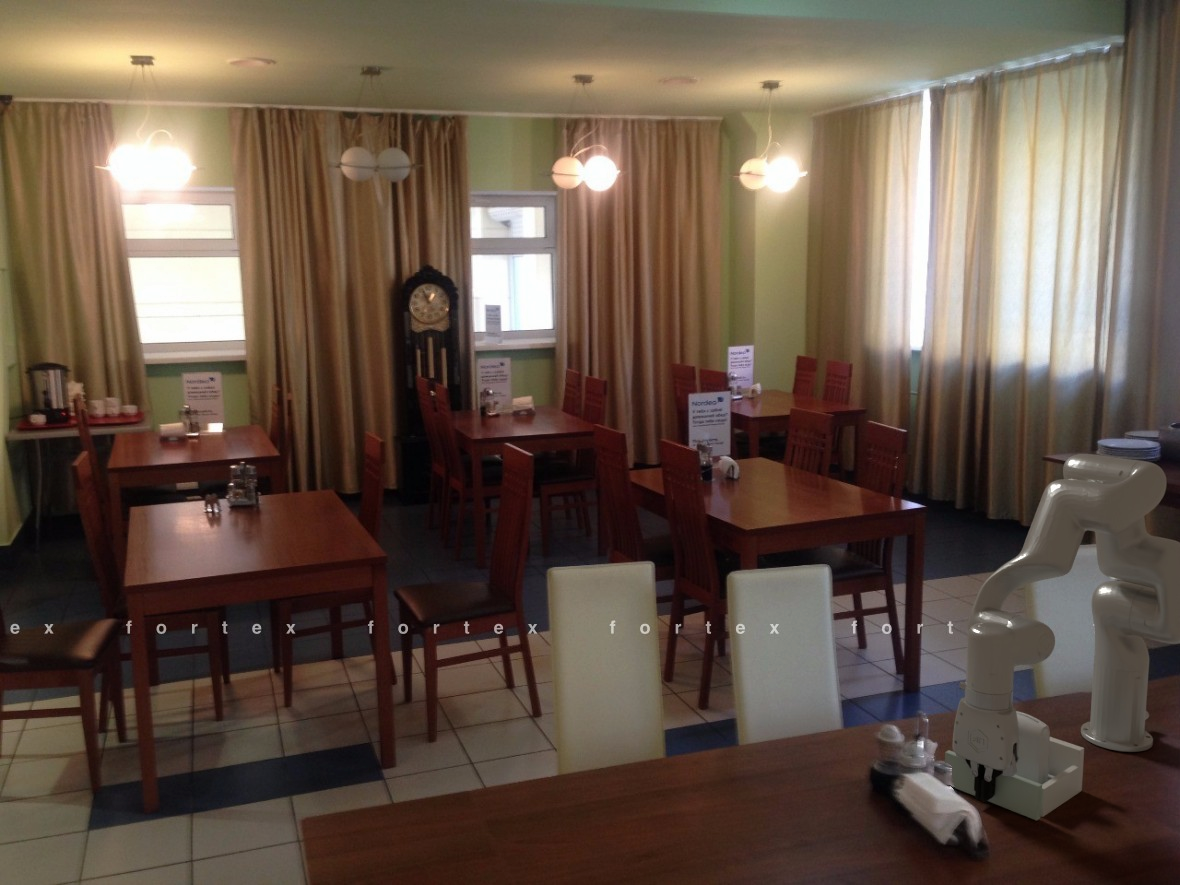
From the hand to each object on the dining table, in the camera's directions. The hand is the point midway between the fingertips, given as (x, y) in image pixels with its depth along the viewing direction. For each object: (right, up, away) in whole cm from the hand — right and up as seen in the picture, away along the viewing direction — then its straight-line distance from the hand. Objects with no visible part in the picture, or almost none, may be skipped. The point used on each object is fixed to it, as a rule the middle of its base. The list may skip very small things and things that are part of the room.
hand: (984, 797), depth 176 cm
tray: (+6, 0, +5) cm, 8 cm away
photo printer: (+9, +1, +7) cm, 11 cm away
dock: (+8, 0, +7) cm, 11 cm away
